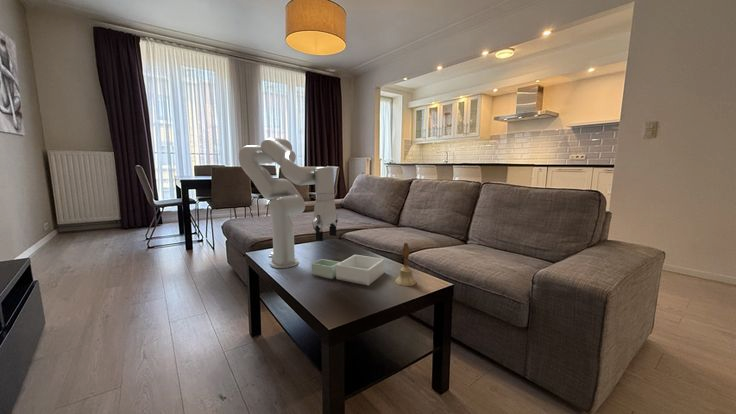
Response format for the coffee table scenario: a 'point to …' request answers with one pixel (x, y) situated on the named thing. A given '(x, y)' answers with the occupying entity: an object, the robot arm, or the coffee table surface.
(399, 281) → the hand bell
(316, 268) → the small crate
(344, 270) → the big crate
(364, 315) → the coffee table surface
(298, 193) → the robot arm
